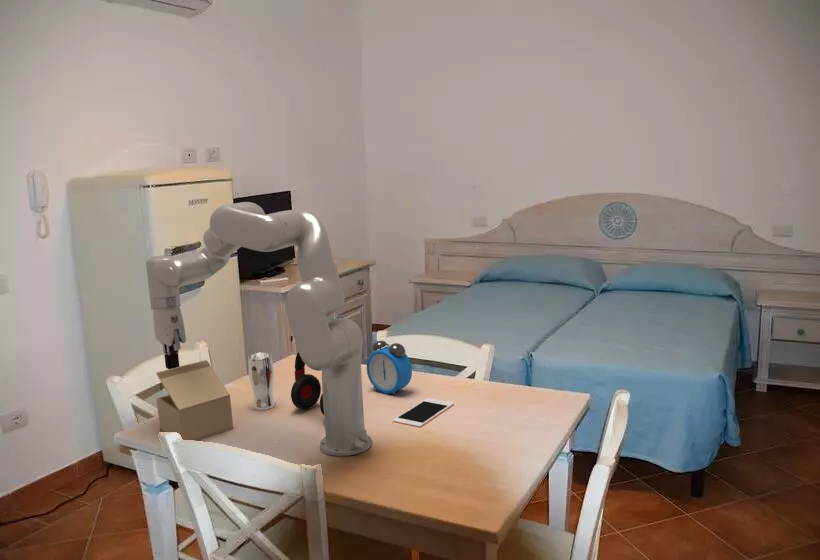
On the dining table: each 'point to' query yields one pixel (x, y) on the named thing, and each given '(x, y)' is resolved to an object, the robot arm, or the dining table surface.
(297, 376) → the headphones
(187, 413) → the carton
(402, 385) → the alarm clock
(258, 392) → the beer glass
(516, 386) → the dining table surface
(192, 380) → the lid
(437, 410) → the cell phone
